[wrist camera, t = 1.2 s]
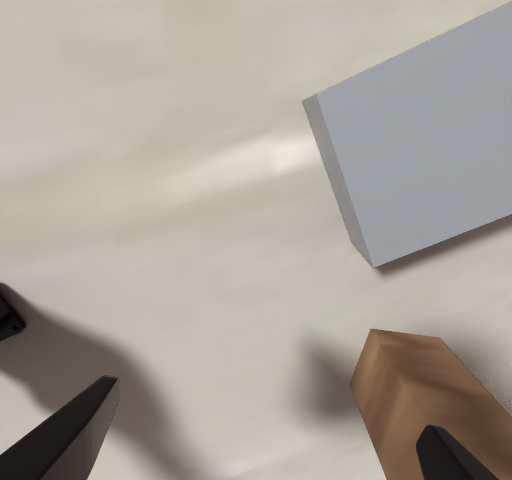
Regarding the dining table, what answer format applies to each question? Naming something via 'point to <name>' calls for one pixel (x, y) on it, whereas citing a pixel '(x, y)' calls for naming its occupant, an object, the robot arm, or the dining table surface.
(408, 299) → the dining table surface
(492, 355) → the dining table surface
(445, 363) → the walnut block
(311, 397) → the dining table surface
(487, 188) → the grey slab
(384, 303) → the dining table surface
